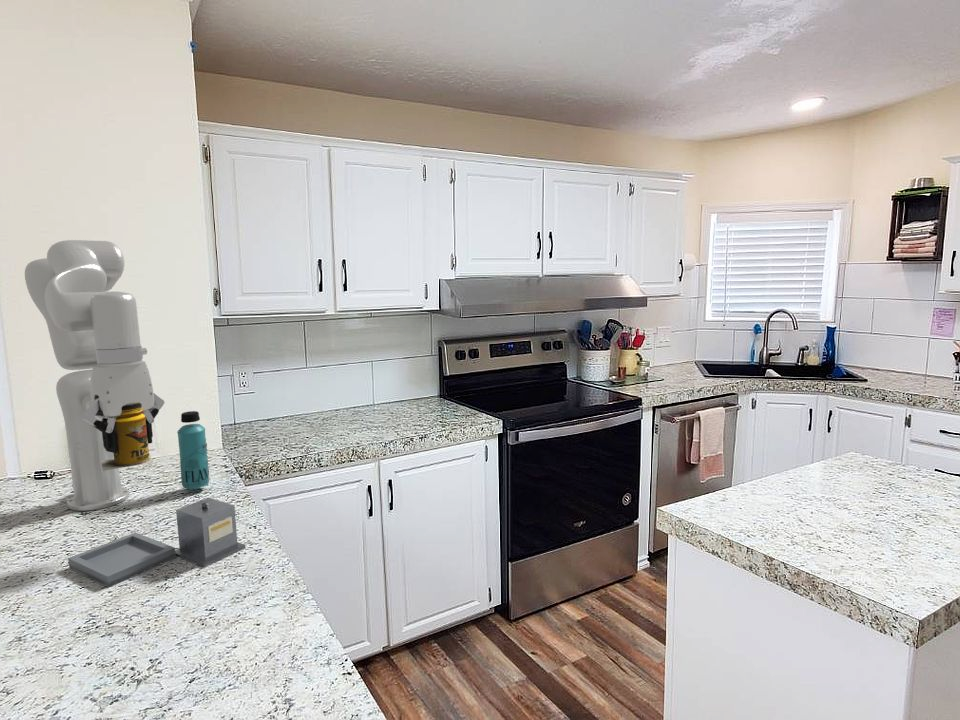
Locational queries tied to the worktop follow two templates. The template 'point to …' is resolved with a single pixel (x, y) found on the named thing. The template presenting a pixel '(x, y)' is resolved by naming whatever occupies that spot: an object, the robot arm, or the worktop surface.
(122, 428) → the condiment
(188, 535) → the block
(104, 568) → the tray
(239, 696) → the worktop surface
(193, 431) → the beverage bottle
